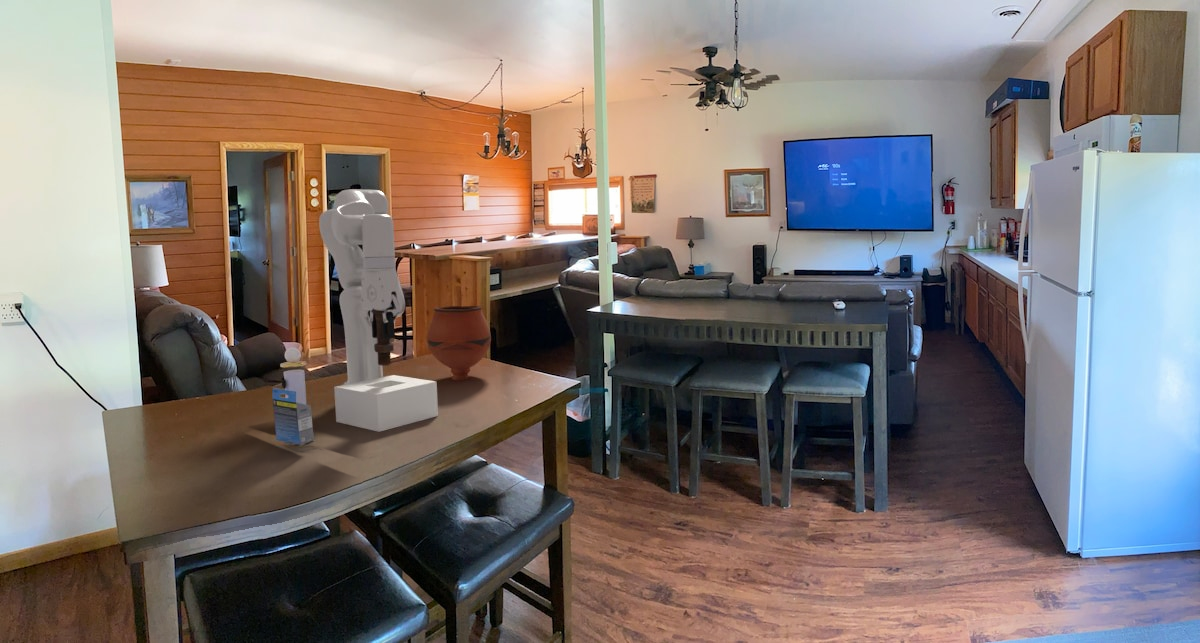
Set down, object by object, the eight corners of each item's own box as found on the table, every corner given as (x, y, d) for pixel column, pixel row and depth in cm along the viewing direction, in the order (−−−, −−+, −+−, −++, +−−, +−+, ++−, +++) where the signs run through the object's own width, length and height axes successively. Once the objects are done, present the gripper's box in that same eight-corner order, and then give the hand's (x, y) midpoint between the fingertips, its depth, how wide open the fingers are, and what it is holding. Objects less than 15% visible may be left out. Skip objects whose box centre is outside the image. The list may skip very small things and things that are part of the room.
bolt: (381, 367, 171) (379, 307, 169) (368, 365, 173) (366, 306, 172) (400, 364, 175) (398, 305, 174) (387, 362, 178) (385, 304, 176)
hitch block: (336, 421, 174) (334, 386, 173) (395, 407, 188) (393, 375, 187) (379, 431, 164) (377, 394, 163) (438, 415, 178) (436, 381, 177)
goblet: (505, 385, 216) (502, 305, 213) (454, 396, 201) (451, 311, 199) (466, 378, 228) (463, 303, 225) (417, 388, 214) (413, 308, 211)
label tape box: (314, 441, 157) (311, 387, 156) (299, 445, 154) (295, 391, 152) (290, 436, 161) (286, 384, 160) (274, 440, 158) (270, 387, 157)
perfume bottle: (310, 424, 172) (305, 344, 170) (310, 429, 167) (305, 348, 164) (285, 427, 170) (279, 346, 167) (284, 432, 164) (278, 349, 162)
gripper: (346, 265, 173) (351, 337, 175) (387, 264, 164) (391, 341, 166) (372, 264, 179) (376, 334, 181) (413, 264, 170) (417, 338, 172)
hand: (383, 337), depth 174 cm, fingers closed on bolt, 3 cm apart
